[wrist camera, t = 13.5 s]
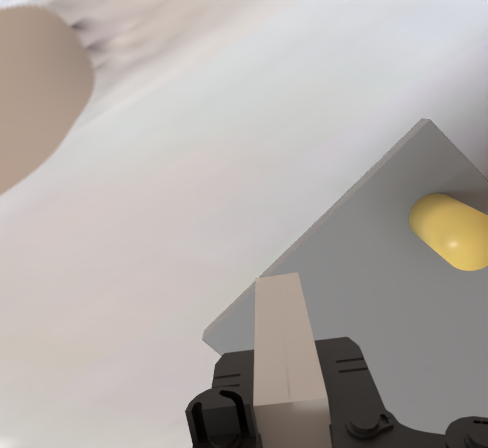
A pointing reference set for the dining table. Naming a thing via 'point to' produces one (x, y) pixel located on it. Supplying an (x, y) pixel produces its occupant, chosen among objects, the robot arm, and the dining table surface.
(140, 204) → the dining table surface
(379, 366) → the cover
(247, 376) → the robot arm
